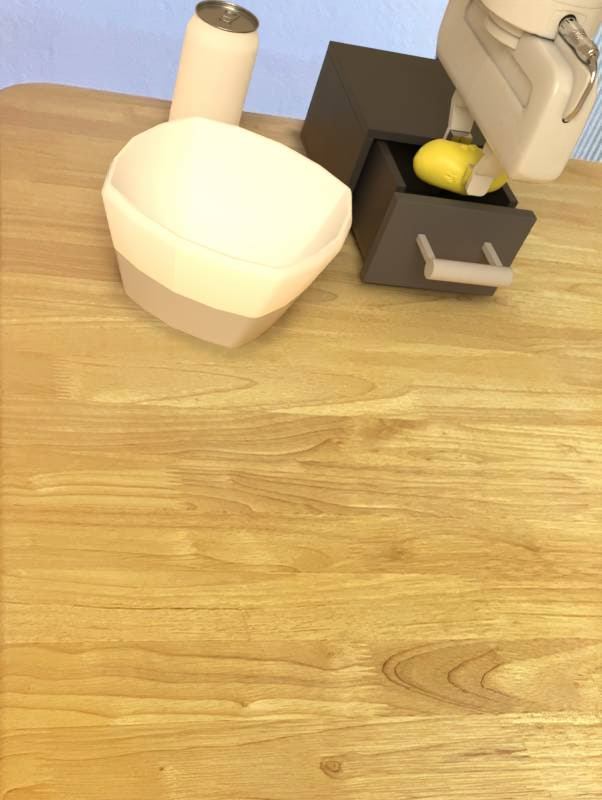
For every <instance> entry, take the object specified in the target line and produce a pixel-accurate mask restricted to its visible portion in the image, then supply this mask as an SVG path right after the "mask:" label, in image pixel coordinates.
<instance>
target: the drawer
mask: <svg viewBox="0 0 602 800" xmlns="http://www.w3.org/2000/svg"><path fill="white" fill-rule="evenodd" d="M421 147H422V146H421V145H415V144H408V143H401V142H395V141H388V140H382V139H375V138H374V139H373V142H372V145H371V147H370V150H369V152H368V155H367V158H366V160H365V163H364V165H363V168H362V171H361V173H360V176H359V178H358V181H357V184H356V186H355V189H354V191H353V194H352V224H351V226H352V229H351V230H352V232H353V233H354V234H353V235H354V236H355V239H356V242H357V244H358V247H359V250H360V253H361V255H362V258H363V260H364V263H363V265H362V268H361V270H360V273H359V275H360V278H361V280H362V282H363V283H370V284H377V285H387V286H395V287H396V286H397V287H405V288H412V289H413V288H414V289H423V290H424V289H425V290H431V291H432V290H433V291H442V292H449V293H450V292H452V293H461V294H470V295H479V296H486V297H487V296H489V297H493V296H495V293H496V291H497V290H498V288H504V289H506V288H509V287H510V286H511V285H512V282H513V280H514V269H513V268H512V267H511V265H512V264H513V262H514V261H515V258H516V256H517V255H518V253H519V252H520V250H521V247H522V246H523V245H524V243H525V241H526V239H527V238H528V236H529V234H530V233H531V231H532V229H533V227H534V226H535V224H536V222H537V220H538V217H537V216H536V214H535V212H534V210H530V209H523V208H517V206H518V204H519V201H518V199H517V197H516V195H515V194H514V192H513V190H512V189H511V187H510V185H509V183H508V181H507V182H506V183H505V184H504V185H503V186H502V187H501V188H499V189H497V190H496V191H493V192H489V193H486V194H485V195H483V196H473V195H470V196H467V195H461V194H458V193H454V192H451V191H448V190H445V189H442V188H439V187H436V186H433V185H431V184H428V183H426V182H424V181H422V180H421V179H419V178H418V177H417V175H416V174H415V172H414V169H413V159H414V157H415V155H416V153H417V152H418V151H419V149H420V148H421Z"/></svg>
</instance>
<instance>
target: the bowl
mask: <svg viewBox="0 0 602 800" xmlns="http://www.w3.org/2000/svg"><path fill="white" fill-rule="evenodd" d="M101 187H102V188H101V191H100V193H101V198H102V202H103V207H104V210H105V216H106V221H107V225H108V229H109V233H110V238H111V242H112V246H113V248H114V252H115V258H116V261H117V266H118V270H119V274H120V279H121V284H122V287H123V291H124V293H125V294H126V296H127V297H128V298H130V299H131V301H133V302H134V303H136V305H138V306H139V307H140V308H141V309H142V310H144V311H145V312H147V313H148V314H150V315H152V316H153V317H154V318H156V319H157V320H159V321H161V322H162V323H164V324H166V325H167V326H169V327H170V328H172V329H175V330H177V331H180V332H182V333H185V334H187V335H189V336H192V337H195V338H197V339H200V340H201V341H204V342H207V343H211V344H214V345H218V346H222V347H224V348H228V349H238V348H241V347H243V346H245V345H247V344H248V343H251V342H253V341H254V340H256V339H258V338H259V337H261V335H263V334H264V333H265V332H267V331H268V330H269V329H270V328H272V326H274V325H275V324H276V323H277V322H278V321H279V320H280V318H282V316H283V315H284V314H285V313H286V311H287V310H288V309H289V308H290V307H291V306H292V305H293V304H294V303H295V301H297V300H298V298H299V297H300V296H301V295H302V294H303V293H304V292H305V291H306V290H307V289H308V288H309V287H310V285H311V284H312V283H313V282H314V281H315V280H316V279H317V278H318V277H319V275H321V273H322V272H323V271H324V270H325V269H326V267H328V265H329V264H330V263H331V262H332V261H333V260H334V259H335V258H336V256H337V255H338V254H339V253H340V252H341V250H342V248H343V246H344V244H345V241H346V239H347V237H348V234H349V232H350V230H351V229H350V228H351V224H352V194H351V190H350V188H349V187H348V186H346V185H345V184H344V183H342V182H341V181H340V180H339V179H337V178H336V177H335V176H333V175H332V174H331V173H329V172H328V171H327V170H326V169H324V168H323V167H322V166H320V165H319V164H317V163H315V162H313V161H312V160H310V159H308V158H307V156H304V155H303V154H301V153H300V152H297V151H295V150H294V149H292V148H290V147H289V146H287V145H285V144H284V143H281V142H279V141H277V140H274V139H271V138H269V137H267V136H263V135H261V134H259V133H256V132H254V131H251V130H248V129H246V128H243V127H241V126H240V125H239V126H235V125H231V124H227V123H224V122H220V121H216V120H212V119H209V118H205V117H201V116H190V117H186V118H182V119H177V120H173V121H169V122H168V121H166V122H165V121H164V122H161V123H159V124H156V125H155V126H153V127H151V128H149V129H147V130H145V131H143V132H141V133H138V134H136V135H134V136H132V137H131V138H130V140H129V141H128V142H127V143H126V145H124V146H123V147H122V149H121V150H120V151H119V152H118V153H117V154H116V156H115V157H114V158H113V159H112V160H111V162H110V164H109V166H108V169H107V173H106V176H105V179H104V182H103V184H102V186H101Z"/></svg>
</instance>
